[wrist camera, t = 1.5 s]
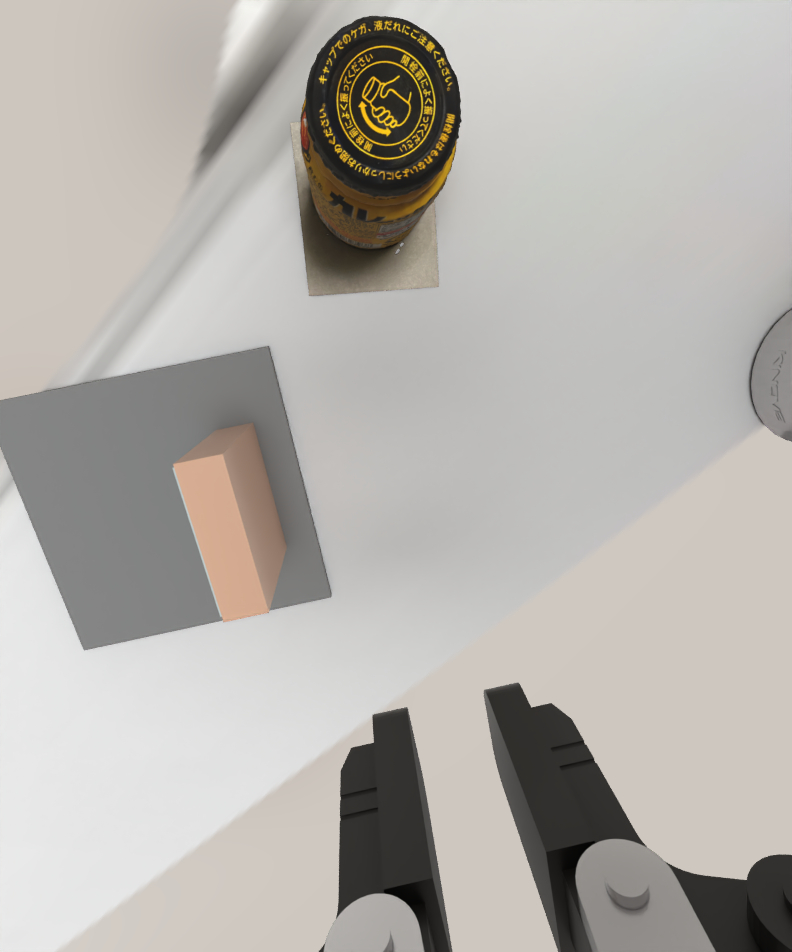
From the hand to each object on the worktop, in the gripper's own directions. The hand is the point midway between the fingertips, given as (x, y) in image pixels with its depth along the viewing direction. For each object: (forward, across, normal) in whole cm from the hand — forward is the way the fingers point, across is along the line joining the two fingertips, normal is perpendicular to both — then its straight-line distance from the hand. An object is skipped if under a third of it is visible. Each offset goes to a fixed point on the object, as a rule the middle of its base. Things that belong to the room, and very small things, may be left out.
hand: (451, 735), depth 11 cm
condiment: (+23, -2, -14) cm, 27 cm away
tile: (+23, +8, 0) cm, 24 cm away
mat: (+23, +13, 0) cm, 26 cm away
